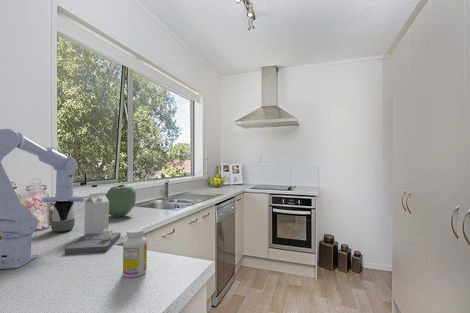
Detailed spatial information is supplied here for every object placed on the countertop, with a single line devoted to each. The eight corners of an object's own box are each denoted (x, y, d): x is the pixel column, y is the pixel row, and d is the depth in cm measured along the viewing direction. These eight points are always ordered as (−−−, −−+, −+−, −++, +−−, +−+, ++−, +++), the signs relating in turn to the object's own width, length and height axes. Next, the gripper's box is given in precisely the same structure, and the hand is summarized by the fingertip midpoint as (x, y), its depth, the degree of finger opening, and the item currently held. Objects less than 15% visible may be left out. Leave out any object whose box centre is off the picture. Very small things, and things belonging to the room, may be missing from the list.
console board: (106, 251, 88) (107, 244, 88) (64, 254, 85) (65, 246, 85) (120, 236, 106) (120, 230, 106) (86, 238, 103) (86, 232, 103)
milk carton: (83, 235, 108) (85, 193, 108) (99, 231, 114) (100, 192, 115) (93, 237, 104) (94, 194, 105) (108, 233, 111) (109, 192, 111)
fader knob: (108, 239, 95) (109, 230, 95) (102, 240, 94) (102, 230, 94) (112, 236, 98) (112, 227, 99) (105, 237, 98) (106, 228, 98)
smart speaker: (56, 228, 118) (57, 200, 118) (77, 227, 120) (78, 200, 121) (46, 234, 109) (47, 203, 109) (69, 232, 111) (70, 203, 111)
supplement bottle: (139, 266, 76) (140, 226, 76) (150, 272, 72) (151, 229, 72) (118, 273, 71) (119, 230, 71) (129, 280, 66) (130, 234, 67)
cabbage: (100, 216, 146) (101, 183, 147) (132, 212, 157) (133, 182, 158) (103, 221, 134) (104, 185, 134) (138, 217, 144) (139, 184, 145)
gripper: (88, 185, 101) (87, 217, 100) (50, 185, 98) (49, 218, 98) (80, 186, 94) (79, 221, 93) (39, 187, 91) (38, 222, 91)
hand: (63, 220), depth 95 cm, fingers closed
